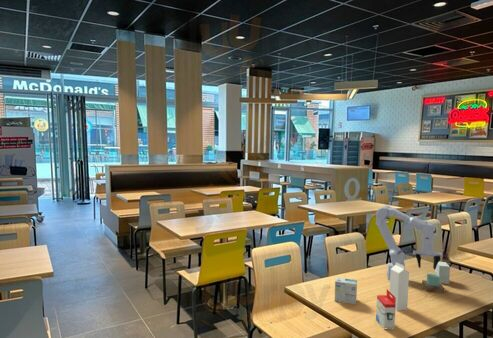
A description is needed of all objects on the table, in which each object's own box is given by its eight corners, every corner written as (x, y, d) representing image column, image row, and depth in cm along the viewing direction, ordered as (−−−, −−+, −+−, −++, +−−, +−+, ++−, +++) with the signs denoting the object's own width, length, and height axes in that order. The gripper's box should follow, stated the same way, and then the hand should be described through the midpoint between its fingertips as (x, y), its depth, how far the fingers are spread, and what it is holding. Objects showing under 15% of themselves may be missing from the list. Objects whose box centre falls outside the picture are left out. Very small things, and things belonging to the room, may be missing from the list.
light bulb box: (356, 299, 175) (357, 278, 174) (356, 304, 169) (356, 284, 168) (335, 295, 178) (335, 276, 177) (334, 301, 172) (334, 281, 171)
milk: (397, 311, 163) (399, 266, 161) (388, 305, 169) (390, 262, 167) (407, 309, 164) (409, 265, 163) (398, 303, 170) (400, 261, 168)
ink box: (375, 319, 155) (376, 288, 153) (385, 319, 155) (387, 288, 154) (383, 330, 146) (385, 297, 145) (395, 329, 146) (396, 297, 145)
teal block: (429, 285, 186) (429, 276, 186) (426, 281, 191) (426, 273, 191) (439, 286, 185) (439, 277, 185) (436, 282, 190) (436, 274, 189)
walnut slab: (425, 291, 185) (426, 286, 185) (422, 285, 194) (422, 280, 193) (444, 294, 183) (444, 288, 182) (439, 287, 191) (439, 282, 191)
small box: (449, 284, 194) (450, 266, 193) (438, 283, 195) (439, 265, 194) (445, 279, 201) (446, 262, 201) (434, 278, 203) (435, 261, 202)
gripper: (415, 245, 188) (414, 269, 189) (444, 247, 184) (443, 272, 185) (412, 242, 195) (411, 264, 196) (440, 244, 191) (439, 267, 192)
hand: (426, 268), depth 191 cm, fingers open, 7 cm apart
